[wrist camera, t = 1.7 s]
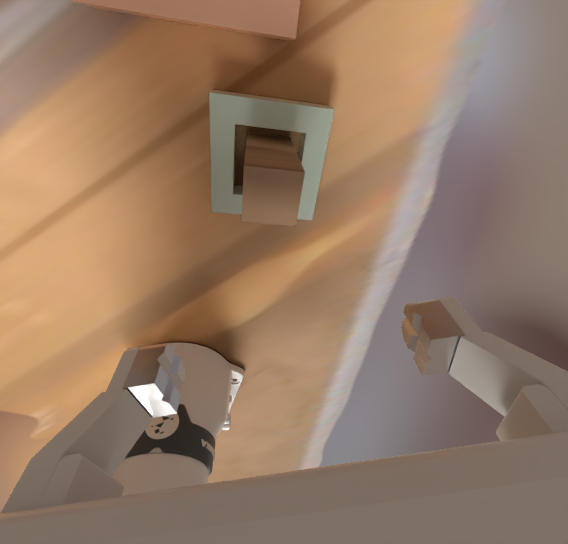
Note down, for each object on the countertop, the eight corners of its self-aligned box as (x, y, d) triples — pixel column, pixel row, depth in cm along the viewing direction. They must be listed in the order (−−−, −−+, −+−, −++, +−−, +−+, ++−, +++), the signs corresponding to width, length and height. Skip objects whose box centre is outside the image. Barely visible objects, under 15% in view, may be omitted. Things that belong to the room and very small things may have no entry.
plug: (284, 179, 30) (295, 226, 22) (244, 175, 29) (241, 222, 21) (290, 137, 27) (305, 172, 19) (246, 132, 27) (243, 165, 19)
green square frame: (308, 209, 32) (312, 220, 30) (214, 201, 30) (211, 212, 28) (328, 105, 26) (334, 109, 24) (212, 89, 25) (209, 92, 23)
